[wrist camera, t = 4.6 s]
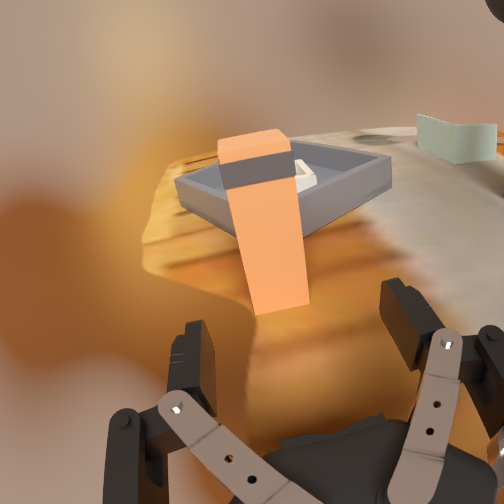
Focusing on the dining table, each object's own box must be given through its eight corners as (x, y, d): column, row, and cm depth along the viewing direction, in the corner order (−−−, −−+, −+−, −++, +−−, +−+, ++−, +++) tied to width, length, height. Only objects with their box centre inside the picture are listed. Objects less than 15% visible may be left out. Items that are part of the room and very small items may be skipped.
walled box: (289, 162, 58) (285, 139, 56) (391, 187, 41) (391, 156, 39) (181, 206, 49) (173, 179, 46) (269, 256, 32) (262, 215, 30)
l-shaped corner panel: (495, 162, 46) (497, 124, 43) (454, 167, 46) (455, 125, 42) (458, 145, 57) (458, 112, 53) (417, 150, 56) (416, 114, 53)
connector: (249, 282, 29) (216, 140, 23) (299, 272, 29) (278, 128, 22) (254, 316, 25) (215, 154, 19) (311, 304, 25) (291, 139, 19)
